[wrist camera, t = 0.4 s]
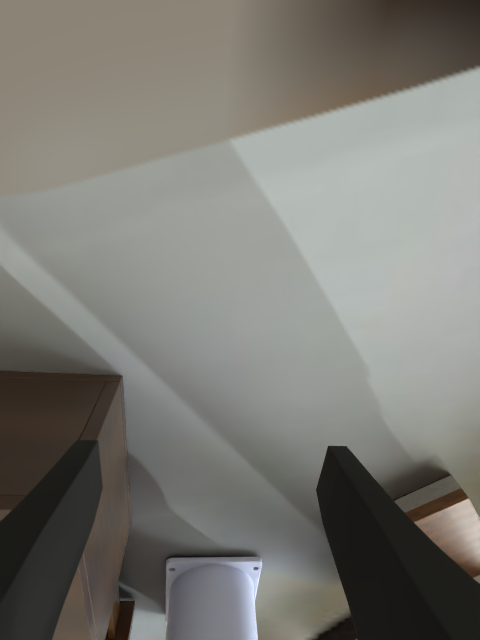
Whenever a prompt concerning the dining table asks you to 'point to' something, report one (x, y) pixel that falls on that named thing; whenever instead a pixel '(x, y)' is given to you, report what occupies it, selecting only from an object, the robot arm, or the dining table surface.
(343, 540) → the robot arm
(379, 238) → the dining table surface
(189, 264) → the dining table surface
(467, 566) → the display case
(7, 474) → the cabinet
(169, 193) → the dining table surface
